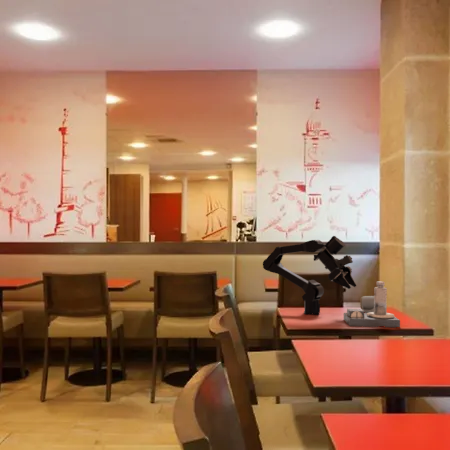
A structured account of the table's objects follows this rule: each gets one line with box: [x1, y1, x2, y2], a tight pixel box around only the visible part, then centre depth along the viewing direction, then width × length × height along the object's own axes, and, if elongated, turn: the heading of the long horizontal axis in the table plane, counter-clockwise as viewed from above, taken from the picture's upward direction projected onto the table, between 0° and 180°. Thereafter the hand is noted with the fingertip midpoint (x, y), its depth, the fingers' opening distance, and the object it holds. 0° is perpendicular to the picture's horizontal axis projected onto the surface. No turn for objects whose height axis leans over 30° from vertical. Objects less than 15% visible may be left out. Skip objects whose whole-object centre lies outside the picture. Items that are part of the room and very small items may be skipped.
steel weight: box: [373, 281, 388, 315], centre depth 211 cm, size 5×5×14 cm
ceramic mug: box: [359, 295, 374, 313], centre depth 243 cm, size 11×8×8 cm
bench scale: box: [343, 308, 401, 328], centre depth 211 cm, size 20×15×6 cm
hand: (352, 287), depth 224 cm, fingers open, 9 cm apart
